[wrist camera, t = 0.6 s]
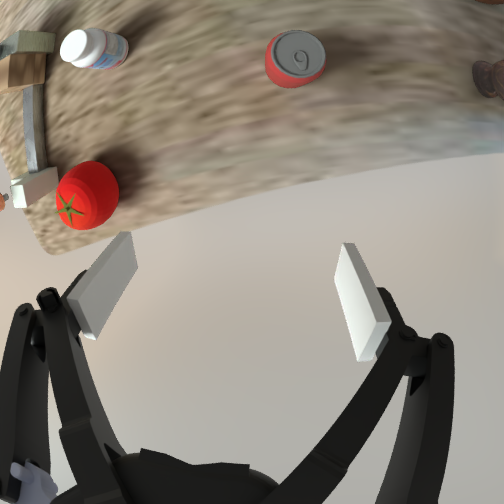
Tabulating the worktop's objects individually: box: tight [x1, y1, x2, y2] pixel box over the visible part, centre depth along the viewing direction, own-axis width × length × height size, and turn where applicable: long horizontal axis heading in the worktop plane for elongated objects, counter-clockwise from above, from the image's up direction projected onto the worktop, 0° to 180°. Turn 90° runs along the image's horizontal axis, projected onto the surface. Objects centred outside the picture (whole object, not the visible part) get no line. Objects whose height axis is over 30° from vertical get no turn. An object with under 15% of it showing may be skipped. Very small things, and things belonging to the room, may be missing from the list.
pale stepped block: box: [10, 167, 59, 208], centre depth 36 cm, size 4×9×10 cm, turn 86°
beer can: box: [265, 30, 327, 88], centre depth 26 cm, size 7×7×12 cm
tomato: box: [55, 161, 119, 230], centre depth 37 cm, size 10×11×11 cm
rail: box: [0, 30, 56, 174], centre depth 27 cm, size 27×8×13 cm, turn 176°
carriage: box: [0, 54, 46, 94], centre depth 24 cm, size 6×5×10 cm
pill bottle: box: [60, 28, 128, 69], centre depth 25 cm, size 6×6×11 cm
